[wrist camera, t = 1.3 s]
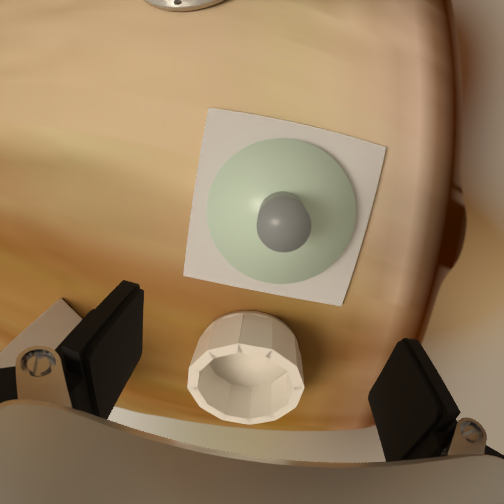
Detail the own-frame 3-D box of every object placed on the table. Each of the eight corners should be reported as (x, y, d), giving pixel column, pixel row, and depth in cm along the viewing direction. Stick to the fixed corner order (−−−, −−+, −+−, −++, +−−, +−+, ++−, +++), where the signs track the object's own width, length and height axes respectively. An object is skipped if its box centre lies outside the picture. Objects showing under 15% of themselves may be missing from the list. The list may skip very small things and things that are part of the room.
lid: (222, 126, 25) (211, 121, 20) (367, 158, 25) (387, 161, 20) (199, 264, 29) (186, 287, 24) (331, 290, 29) (341, 316, 24)
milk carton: (46, 325, 34) (-35, 411, 16) (61, 296, 32) (-37, 389, 14) (82, 360, 36) (13, 457, 18) (102, 335, 34) (21, 445, 16)
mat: (209, 108, 25) (208, 107, 24) (384, 147, 25) (386, 147, 24) (184, 273, 30) (183, 275, 30) (340, 303, 30) (341, 306, 30)
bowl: (205, 300, 31) (192, 333, 25) (310, 320, 31) (317, 356, 25) (196, 376, 35) (185, 411, 29) (285, 392, 35) (285, 429, 29)
